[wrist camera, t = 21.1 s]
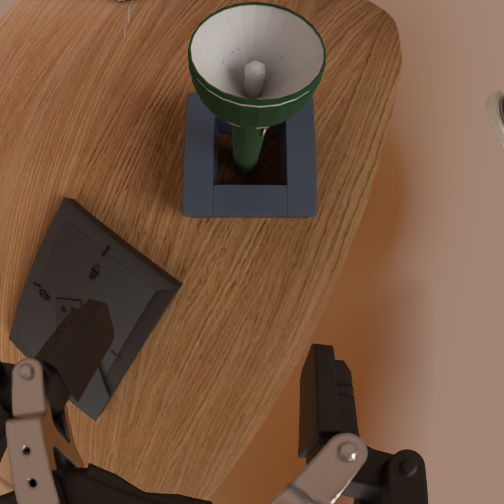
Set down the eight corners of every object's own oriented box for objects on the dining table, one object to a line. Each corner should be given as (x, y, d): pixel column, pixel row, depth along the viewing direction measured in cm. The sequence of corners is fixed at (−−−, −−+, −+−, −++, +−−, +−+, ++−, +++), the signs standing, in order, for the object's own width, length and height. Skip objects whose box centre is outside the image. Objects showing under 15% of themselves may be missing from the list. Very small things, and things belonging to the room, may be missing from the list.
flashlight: (255, 197, 29) (291, 131, 9) (209, 173, 28) (157, 71, 8) (279, 153, 28) (348, 35, 8) (235, 130, 28) (232, -13, 8)
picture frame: (103, 409, 30) (183, 283, 29) (95, 421, 27) (176, 289, 26) (17, 333, 29) (73, 199, 28) (5, 340, 26) (60, 197, 25)
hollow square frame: (302, 114, 28) (312, 94, 23) (304, 218, 29) (316, 215, 24) (196, 113, 28) (187, 93, 23) (192, 217, 29) (182, 215, 24)
